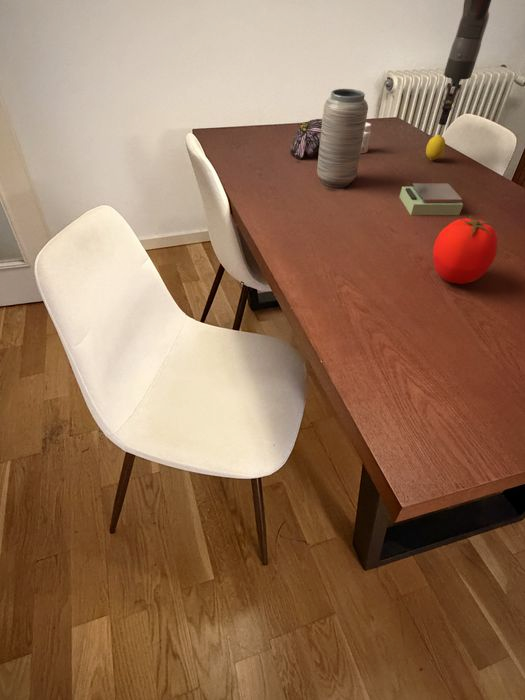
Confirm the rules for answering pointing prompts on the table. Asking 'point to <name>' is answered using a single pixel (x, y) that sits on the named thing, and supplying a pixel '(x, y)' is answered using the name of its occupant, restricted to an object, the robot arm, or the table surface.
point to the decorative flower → (307, 139)
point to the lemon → (435, 147)
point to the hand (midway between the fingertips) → (443, 120)
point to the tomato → (464, 250)
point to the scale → (427, 204)
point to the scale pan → (436, 192)
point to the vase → (341, 137)
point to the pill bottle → (366, 138)
